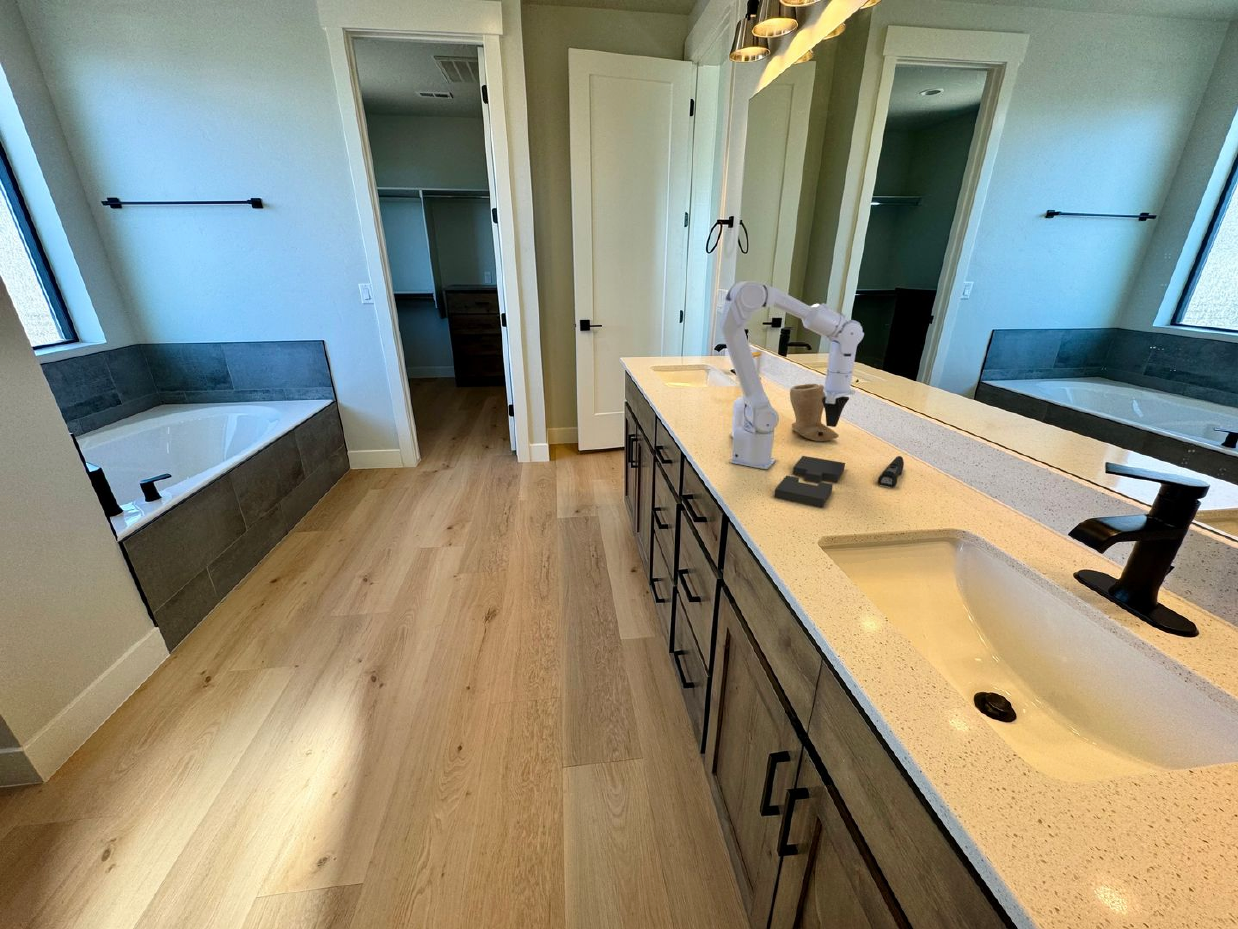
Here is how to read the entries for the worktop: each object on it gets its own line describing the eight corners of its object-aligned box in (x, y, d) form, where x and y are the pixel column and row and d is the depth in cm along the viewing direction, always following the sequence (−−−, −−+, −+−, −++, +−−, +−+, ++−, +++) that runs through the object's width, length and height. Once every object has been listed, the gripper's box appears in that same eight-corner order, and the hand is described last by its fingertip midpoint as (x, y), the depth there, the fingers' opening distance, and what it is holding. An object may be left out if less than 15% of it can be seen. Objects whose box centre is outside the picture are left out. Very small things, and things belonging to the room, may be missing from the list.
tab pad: (789, 477, 116) (790, 470, 115) (801, 463, 125) (802, 455, 124) (834, 486, 111) (836, 478, 110) (844, 470, 120) (845, 462, 119)
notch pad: (774, 497, 106) (775, 489, 105) (785, 483, 113) (786, 475, 112) (822, 508, 101) (824, 499, 100) (831, 492, 108) (832, 484, 107)
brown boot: (780, 427, 153) (786, 379, 148) (819, 427, 153) (825, 379, 147) (796, 443, 139) (802, 391, 133) (838, 443, 139) (846, 390, 133)
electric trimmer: (906, 469, 120) (909, 456, 119) (894, 489, 109) (897, 475, 108) (889, 465, 123) (892, 453, 122) (876, 485, 111) (878, 472, 110)
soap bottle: (766, 441, 141) (775, 354, 132) (734, 442, 141) (741, 355, 132) (758, 432, 149) (766, 350, 140) (728, 432, 149) (734, 350, 140)
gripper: (852, 378, 110) (843, 436, 114) (862, 367, 121) (853, 421, 126) (819, 375, 113) (811, 431, 118) (832, 365, 124) (824, 417, 129)
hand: (831, 425), depth 122 cm, fingers closed
